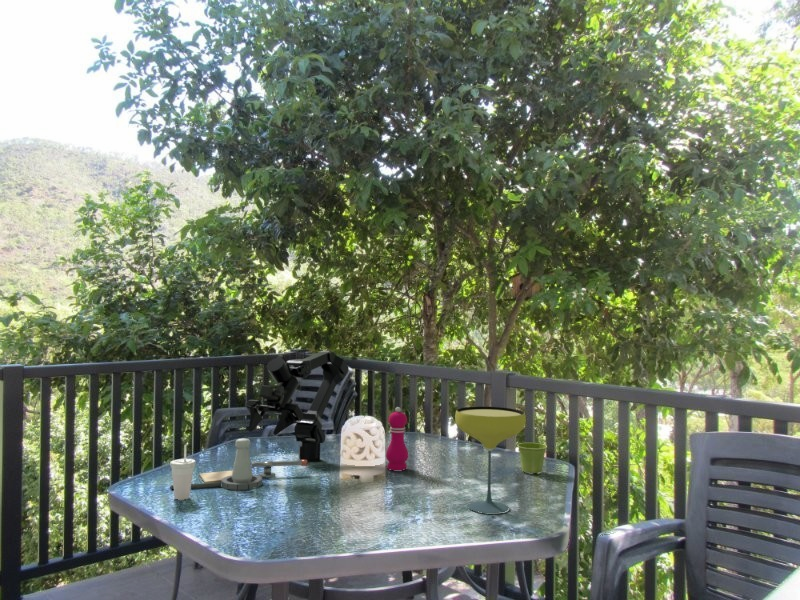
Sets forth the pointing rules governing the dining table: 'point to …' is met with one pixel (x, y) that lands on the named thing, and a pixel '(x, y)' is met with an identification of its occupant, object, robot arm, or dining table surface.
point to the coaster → (215, 476)
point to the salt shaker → (242, 462)
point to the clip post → (267, 473)
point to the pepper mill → (397, 441)
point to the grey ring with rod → (231, 484)
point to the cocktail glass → (490, 439)
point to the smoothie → (182, 476)
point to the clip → (278, 463)
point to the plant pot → (532, 456)
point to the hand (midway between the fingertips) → (261, 432)
